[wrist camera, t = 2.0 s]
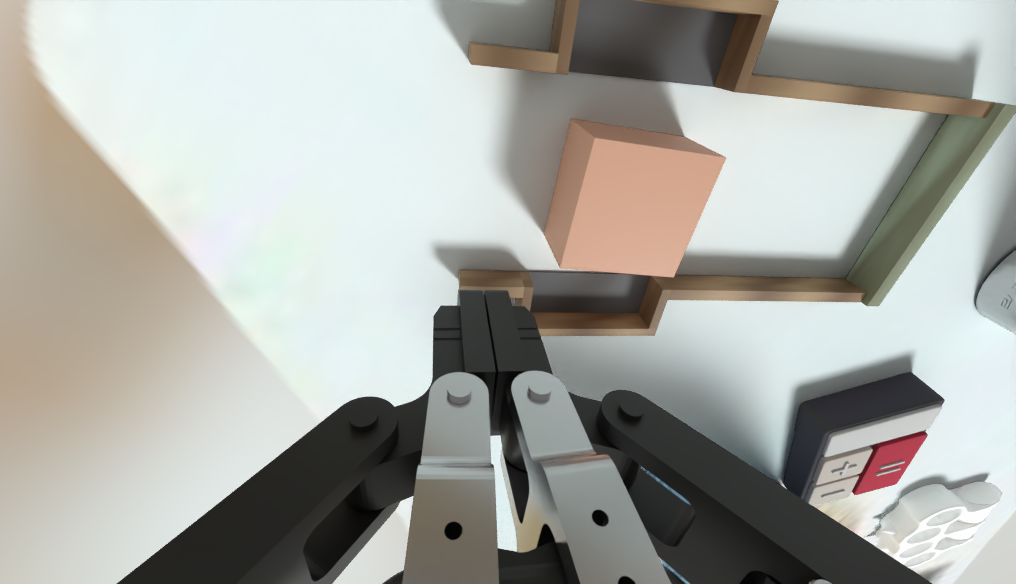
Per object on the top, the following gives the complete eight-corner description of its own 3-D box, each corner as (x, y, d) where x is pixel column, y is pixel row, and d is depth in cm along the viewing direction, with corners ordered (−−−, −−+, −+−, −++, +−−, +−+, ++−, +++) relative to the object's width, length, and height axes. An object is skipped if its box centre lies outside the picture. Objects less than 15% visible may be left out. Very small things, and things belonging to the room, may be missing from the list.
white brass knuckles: (951, 526, 63) (855, 554, 64) (992, 462, 53) (877, 496, 54) (975, 550, 61) (874, 578, 62) (1022, 486, 51) (901, 522, 51)
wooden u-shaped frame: (1010, 39, 24) (1065, 41, 22) (830, 319, 34) (855, 339, 32) (473, -39, 19) (476, -46, 17) (456, 317, 29) (457, 340, 27)
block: (683, 136, 25) (726, 157, 21) (643, 242, 28) (673, 277, 24) (570, 118, 23) (594, 137, 19) (543, 233, 27) (559, 268, 23)
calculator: (802, 513, 46) (832, 439, 37) (776, 477, 49) (797, 400, 40) (901, 487, 46) (956, 405, 37) (869, 451, 49) (911, 369, 40)
